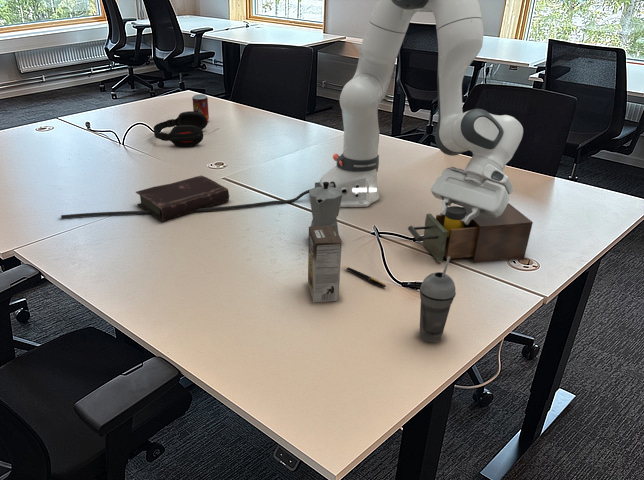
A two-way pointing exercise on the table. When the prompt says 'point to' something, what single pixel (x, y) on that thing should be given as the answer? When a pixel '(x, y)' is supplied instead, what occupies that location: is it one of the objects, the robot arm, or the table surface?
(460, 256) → the drawer
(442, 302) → the beverage cup
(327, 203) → the coffeepot
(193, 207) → the diary
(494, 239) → the cabinet
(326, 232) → the coffee box
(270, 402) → the table surface
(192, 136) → the headset
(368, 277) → the fountain pen
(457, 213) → the yellow jar
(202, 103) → the soda can
